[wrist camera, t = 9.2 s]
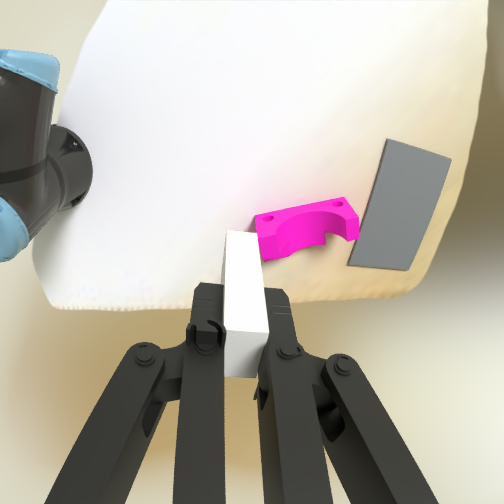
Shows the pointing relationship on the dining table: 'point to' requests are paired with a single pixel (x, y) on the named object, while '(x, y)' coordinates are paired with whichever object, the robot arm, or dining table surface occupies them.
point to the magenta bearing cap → (304, 227)
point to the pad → (399, 206)
